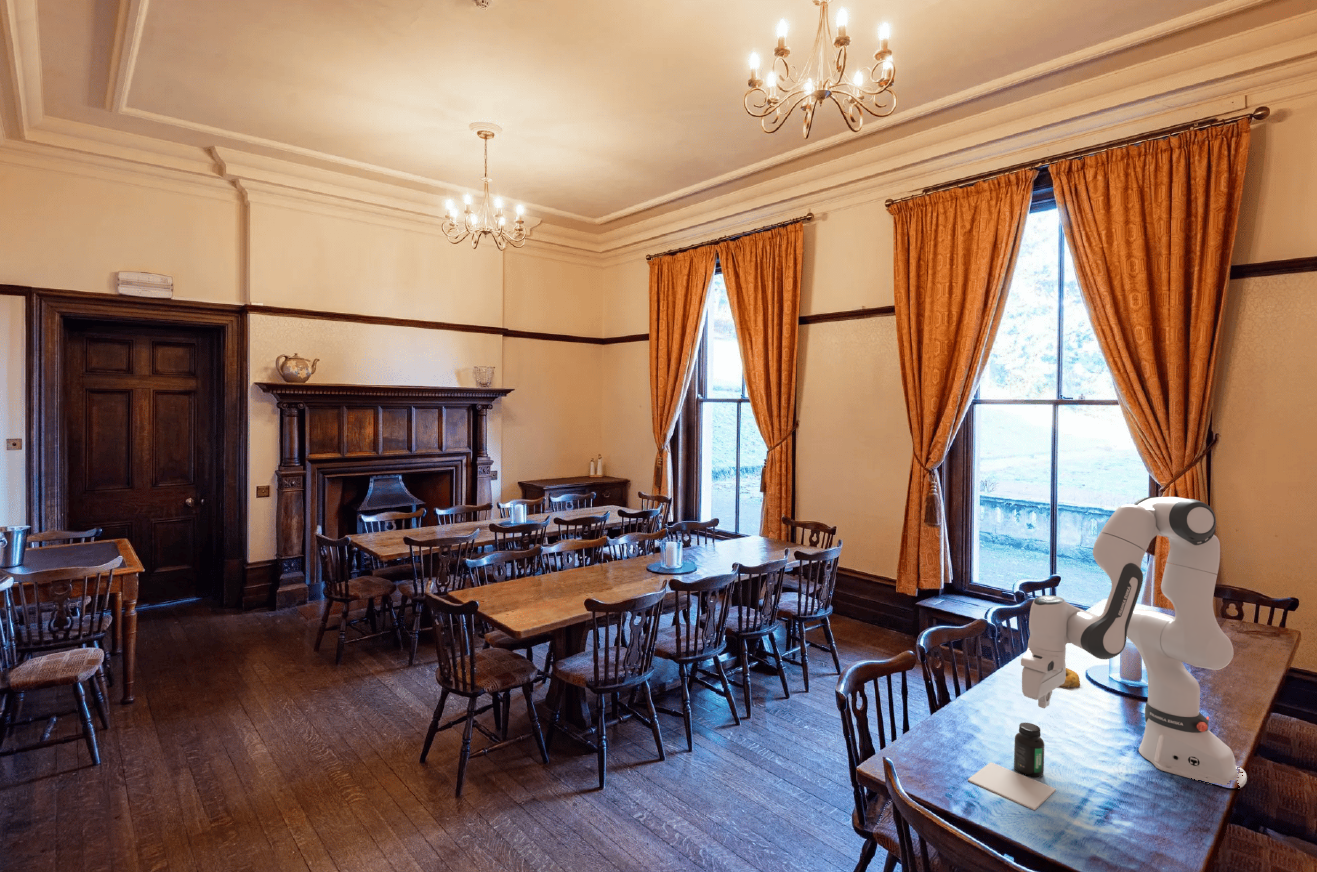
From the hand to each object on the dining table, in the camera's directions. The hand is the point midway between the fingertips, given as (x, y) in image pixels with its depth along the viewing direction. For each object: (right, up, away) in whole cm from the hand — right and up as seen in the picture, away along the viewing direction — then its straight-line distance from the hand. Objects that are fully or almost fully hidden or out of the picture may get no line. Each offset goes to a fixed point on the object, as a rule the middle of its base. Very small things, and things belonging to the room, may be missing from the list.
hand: (1043, 706), depth 179 cm
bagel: (+37, -13, +51) cm, 64 cm away
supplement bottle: (-7, -15, -6) cm, 18 cm away
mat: (-15, -15, -12) cm, 25 cm away
